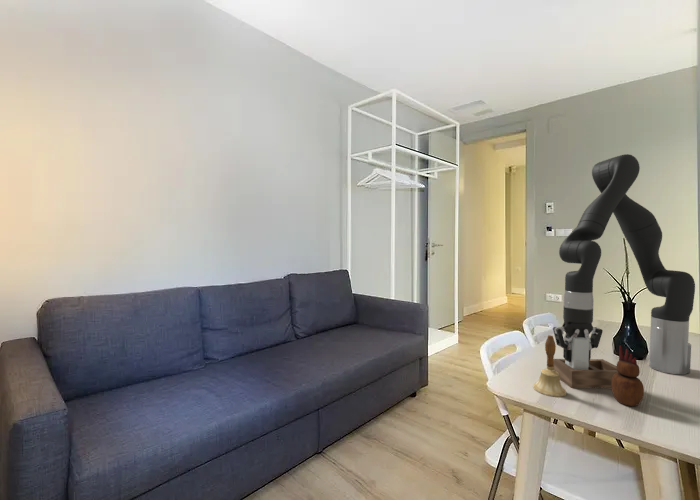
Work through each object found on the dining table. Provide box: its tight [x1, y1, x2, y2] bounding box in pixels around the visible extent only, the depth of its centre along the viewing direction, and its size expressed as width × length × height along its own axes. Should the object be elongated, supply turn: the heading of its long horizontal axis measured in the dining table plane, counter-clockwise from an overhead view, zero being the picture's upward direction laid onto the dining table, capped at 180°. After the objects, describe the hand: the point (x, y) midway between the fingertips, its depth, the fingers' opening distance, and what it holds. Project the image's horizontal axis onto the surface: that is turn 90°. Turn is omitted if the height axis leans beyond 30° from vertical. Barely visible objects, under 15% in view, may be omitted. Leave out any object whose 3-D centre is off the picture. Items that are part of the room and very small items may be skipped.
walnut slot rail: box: [553, 358, 618, 389], centre depth 104 cm, size 16×10×5 cm, turn 89°
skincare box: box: [565, 337, 589, 370], centre depth 104 cm, size 6×4×12 cm
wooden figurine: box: [610, 345, 645, 407], centre depth 90 cm, size 7×6×15 cm
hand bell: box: [532, 335, 568, 398], centre depth 97 cm, size 8×8×16 cm
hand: (576, 360), depth 104 cm, fingers closed on skincare box, 4 cm apart
